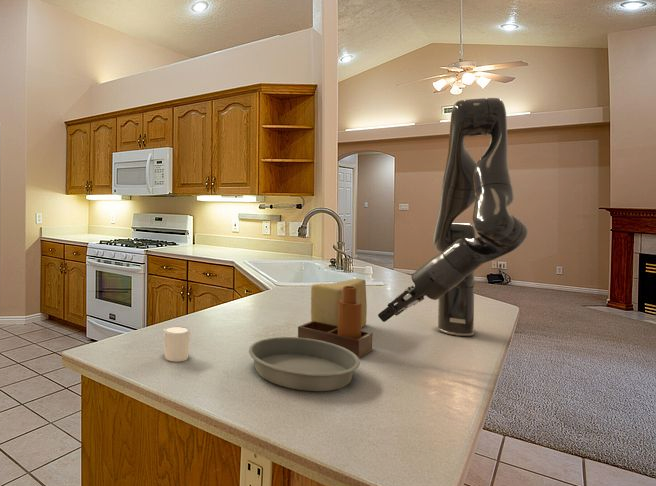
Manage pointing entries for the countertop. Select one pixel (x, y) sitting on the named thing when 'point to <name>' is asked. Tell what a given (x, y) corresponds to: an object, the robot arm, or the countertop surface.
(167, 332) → the cream cylinder
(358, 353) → the holder
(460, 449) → the countertop surface
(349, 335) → the bottle
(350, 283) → the cheese
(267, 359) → the cake pan
